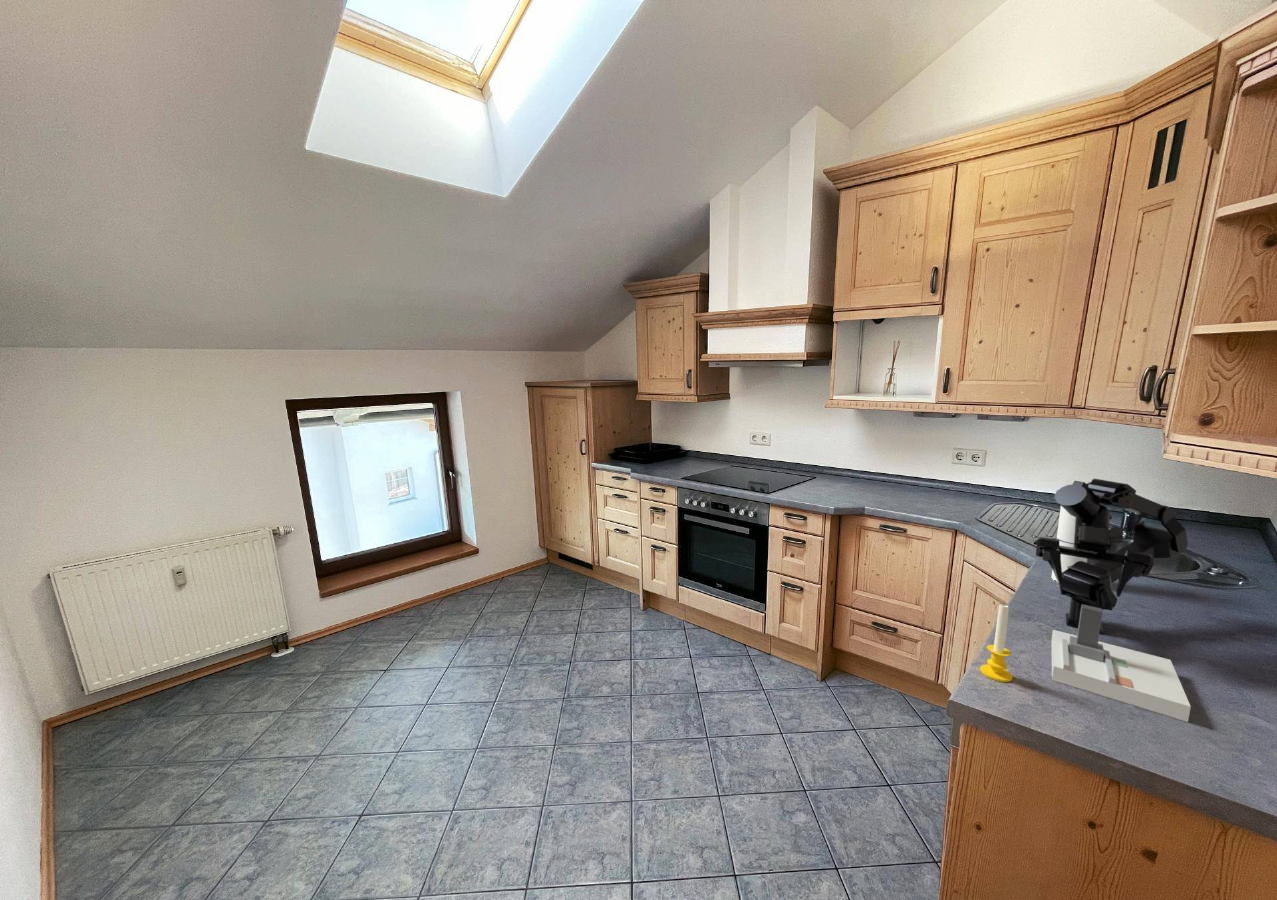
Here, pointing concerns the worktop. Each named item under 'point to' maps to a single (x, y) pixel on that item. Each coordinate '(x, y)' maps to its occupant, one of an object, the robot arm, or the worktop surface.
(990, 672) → the candle
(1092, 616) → the handle
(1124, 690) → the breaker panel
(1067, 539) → the cylindrical container
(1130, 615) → the worktop surface
